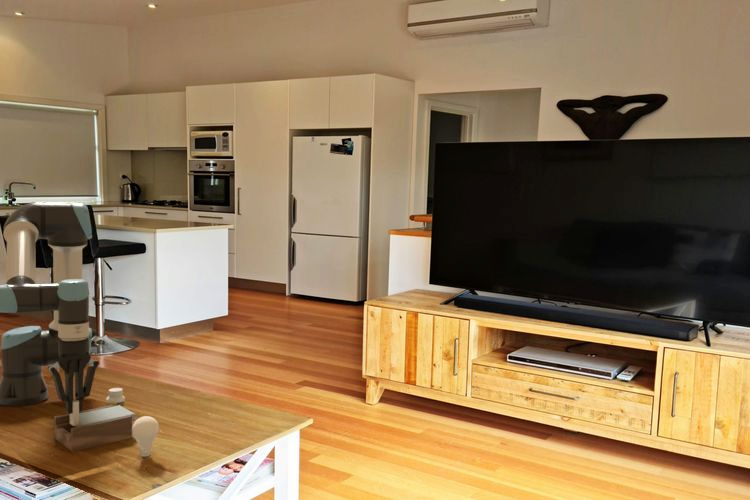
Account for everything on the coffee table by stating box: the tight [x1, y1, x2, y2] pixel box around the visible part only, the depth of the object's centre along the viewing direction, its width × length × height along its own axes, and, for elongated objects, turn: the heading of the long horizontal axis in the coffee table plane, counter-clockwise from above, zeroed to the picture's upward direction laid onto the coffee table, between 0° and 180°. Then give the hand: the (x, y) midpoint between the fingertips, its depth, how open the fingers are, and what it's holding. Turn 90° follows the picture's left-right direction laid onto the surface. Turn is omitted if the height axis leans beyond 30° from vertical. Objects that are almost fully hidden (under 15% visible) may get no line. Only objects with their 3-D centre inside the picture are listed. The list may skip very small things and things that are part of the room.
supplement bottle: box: [105, 387, 126, 408], centre depth 203 cm, size 5×5×10 cm
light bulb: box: [132, 415, 160, 459], centre depth 177 cm, size 7×7×11 cm
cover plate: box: [76, 405, 136, 427], centre depth 189 cm, size 10×14×2 cm
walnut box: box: [53, 405, 133, 453], centre depth 187 cm, size 13×16×7 cm
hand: (74, 424), depth 183 cm, fingers closed
